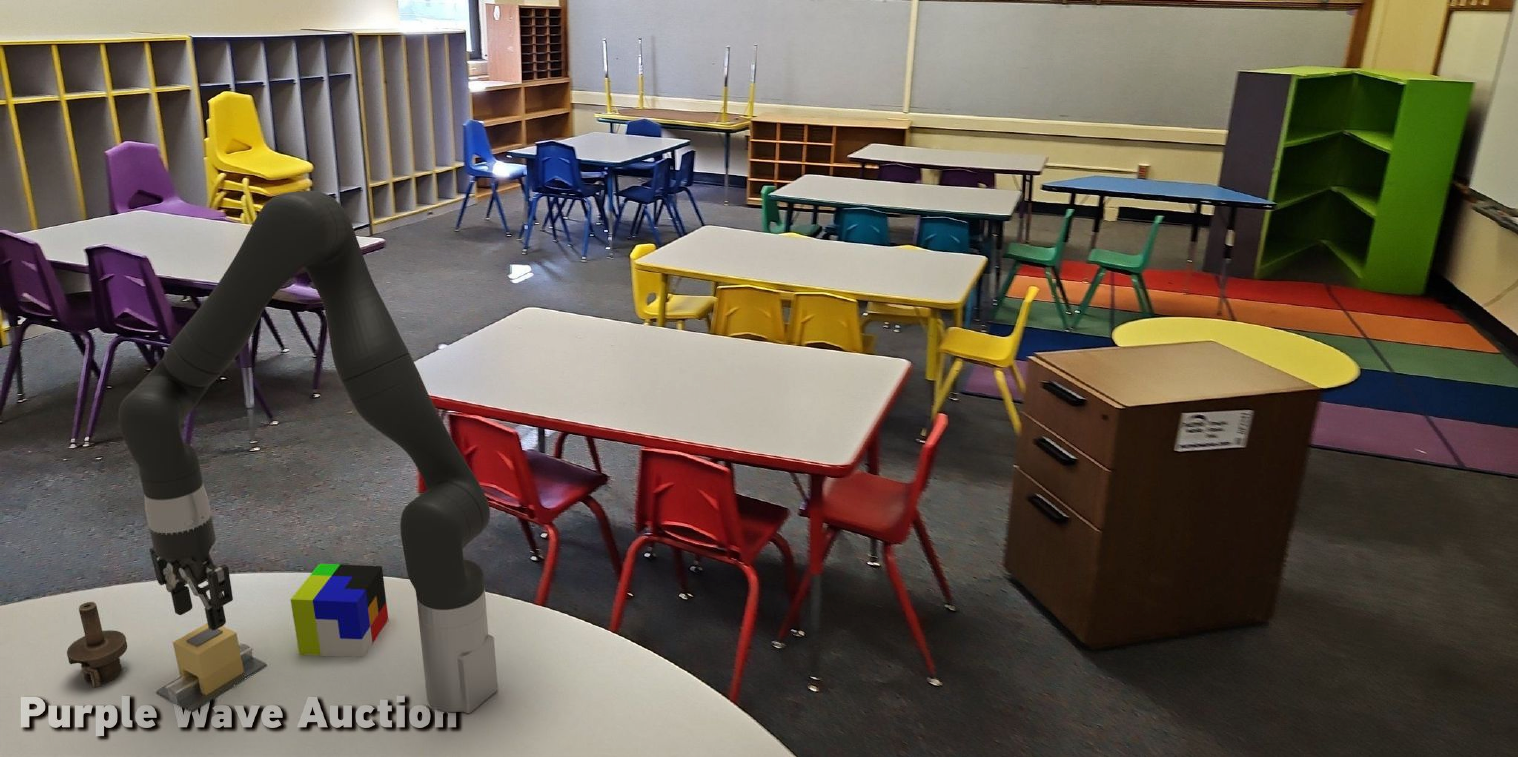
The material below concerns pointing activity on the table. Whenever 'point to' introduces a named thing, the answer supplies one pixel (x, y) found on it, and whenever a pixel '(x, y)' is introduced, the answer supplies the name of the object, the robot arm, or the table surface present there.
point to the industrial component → (97, 648)
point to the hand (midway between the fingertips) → (200, 619)
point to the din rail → (188, 686)
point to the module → (209, 656)
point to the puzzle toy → (340, 610)
